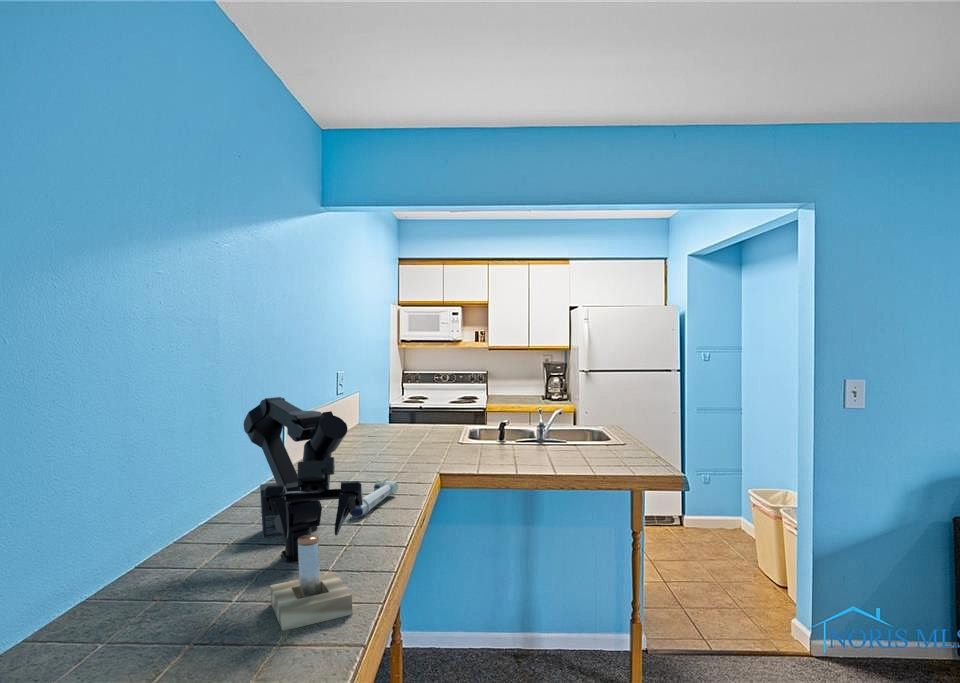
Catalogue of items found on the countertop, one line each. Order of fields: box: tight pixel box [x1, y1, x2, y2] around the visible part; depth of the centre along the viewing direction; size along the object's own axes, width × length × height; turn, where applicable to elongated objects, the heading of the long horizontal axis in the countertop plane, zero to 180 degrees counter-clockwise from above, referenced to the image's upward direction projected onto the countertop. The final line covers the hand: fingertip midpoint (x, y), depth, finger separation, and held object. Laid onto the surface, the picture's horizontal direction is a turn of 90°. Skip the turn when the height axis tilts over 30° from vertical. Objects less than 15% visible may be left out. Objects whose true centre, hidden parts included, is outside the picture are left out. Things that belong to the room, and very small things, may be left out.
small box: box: [259, 482, 319, 539], centre depth 160 cm, size 13×7×12 cm, turn 111°
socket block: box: [269, 571, 353, 632], centre depth 114 cm, size 12×12×4 cm
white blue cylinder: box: [349, 477, 399, 519], centre depth 180 cm, size 5×7×25 cm
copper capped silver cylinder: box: [298, 534, 321, 599], centre depth 114 cm, size 4×4×13 cm
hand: (311, 536), depth 120 cm, fingers open, 9 cm apart
